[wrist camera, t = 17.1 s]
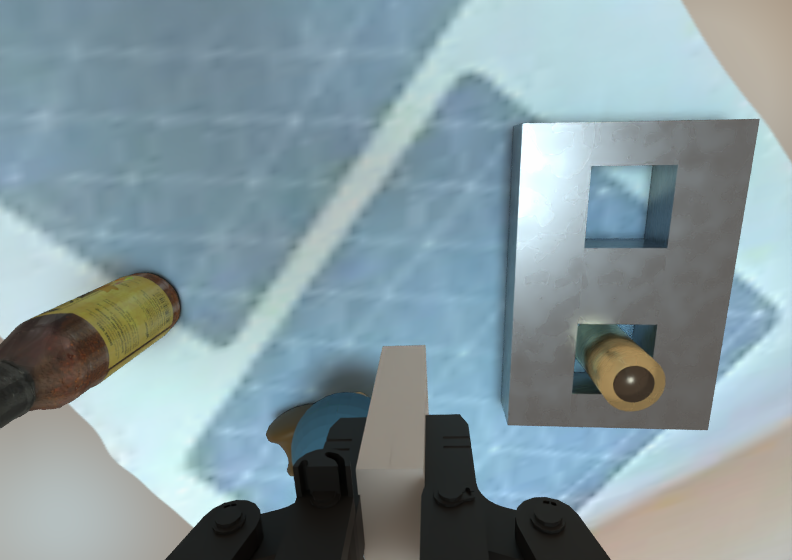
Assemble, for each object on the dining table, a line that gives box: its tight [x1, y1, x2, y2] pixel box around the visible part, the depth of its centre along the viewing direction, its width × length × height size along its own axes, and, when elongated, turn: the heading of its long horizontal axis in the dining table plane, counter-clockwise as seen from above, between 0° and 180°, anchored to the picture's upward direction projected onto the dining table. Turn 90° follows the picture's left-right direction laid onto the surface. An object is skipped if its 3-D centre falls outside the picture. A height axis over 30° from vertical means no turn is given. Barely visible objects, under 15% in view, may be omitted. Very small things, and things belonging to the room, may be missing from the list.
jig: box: [501, 119, 760, 430], centre depth 39 cm, size 24×16×4 cm, turn 1°
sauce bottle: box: [0, 273, 180, 428], centre depth 35 cm, size 7×6×20 cm
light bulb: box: [291, 392, 371, 465], centre depth 39 cm, size 8×8×12 cm
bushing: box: [575, 324, 665, 411], centre depth 38 cm, size 4×4×8 cm
